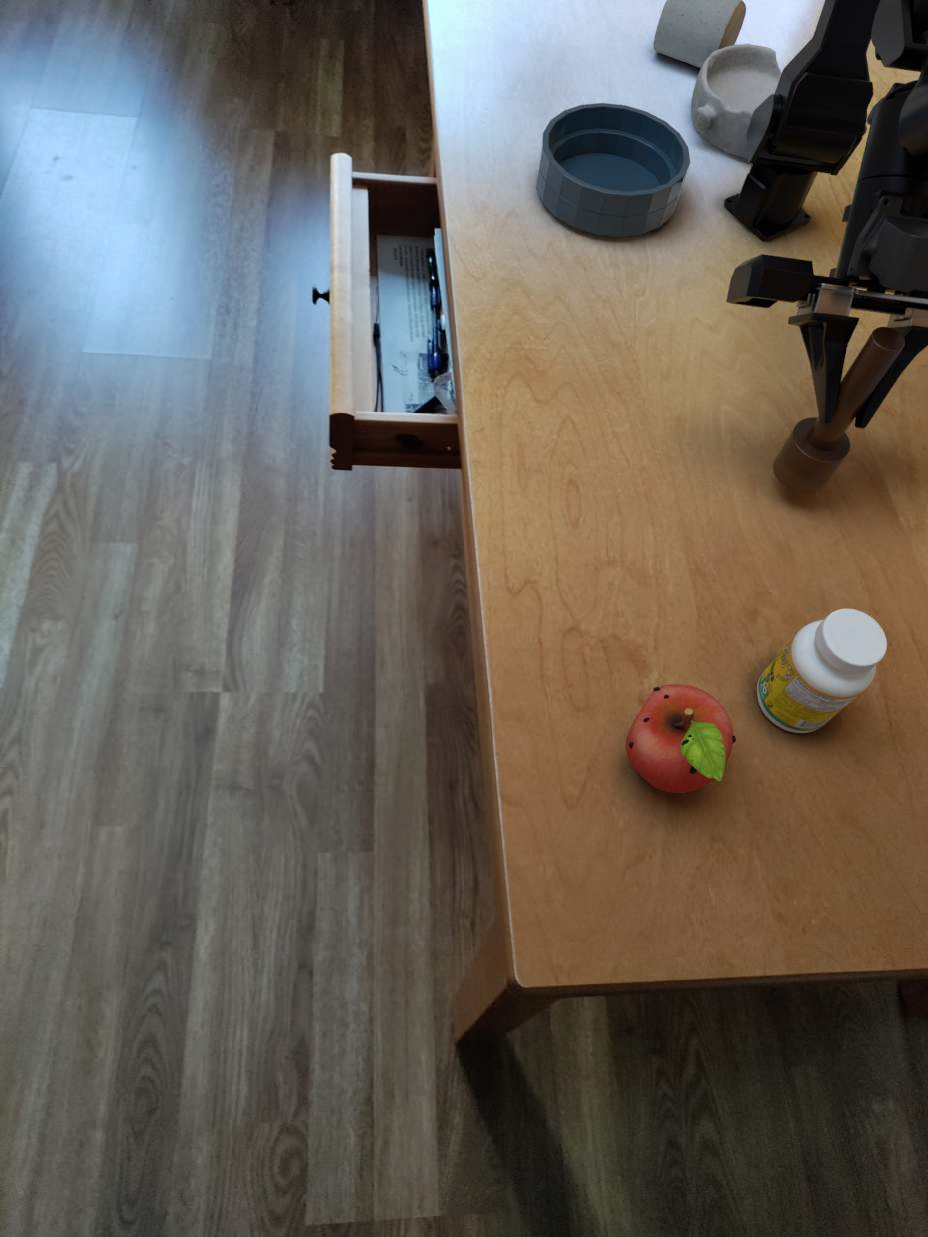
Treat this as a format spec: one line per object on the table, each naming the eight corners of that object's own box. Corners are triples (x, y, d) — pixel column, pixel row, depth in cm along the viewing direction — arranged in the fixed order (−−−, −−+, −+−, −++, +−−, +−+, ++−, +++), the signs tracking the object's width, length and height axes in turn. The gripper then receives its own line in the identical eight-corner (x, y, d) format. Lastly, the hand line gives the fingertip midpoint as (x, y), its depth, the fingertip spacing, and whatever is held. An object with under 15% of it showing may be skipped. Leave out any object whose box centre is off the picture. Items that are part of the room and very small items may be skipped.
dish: (720, 74, 98) (735, 27, 94) (830, 124, 95) (851, 77, 91) (658, 131, 92) (672, 84, 88) (774, 186, 89) (793, 139, 85)
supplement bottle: (805, 750, 59) (874, 694, 50) (739, 702, 60) (795, 639, 52) (842, 696, 61) (913, 634, 53) (777, 651, 62) (837, 583, 54)
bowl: (617, 136, 91) (629, 88, 87) (703, 214, 86) (720, 167, 82) (507, 174, 87) (513, 126, 82) (591, 259, 82) (602, 212, 77)
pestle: (800, 442, 70) (887, 305, 57) (838, 480, 68) (936, 348, 56) (761, 463, 68) (841, 328, 56) (798, 503, 67) (890, 372, 54)
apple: (592, 732, 58) (627, 670, 50) (678, 698, 60) (726, 632, 51) (647, 837, 55) (694, 790, 46) (735, 798, 57) (798, 745, 48)
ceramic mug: (712, 86, 97) (737, 11, 90) (646, 62, 98) (665, -14, 92) (741, 45, 102) (766, -29, 95) (678, 22, 103) (698, -52, 97)
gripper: (805, 136, 49) (744, 413, 54) (1126, 181, 49) (1039, 454, 54) (749, 177, 60) (702, 406, 64) (1013, 214, 60) (948, 439, 64)
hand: (842, 425), depth 61 cm, fingers closed on pestle, 2 cm apart
